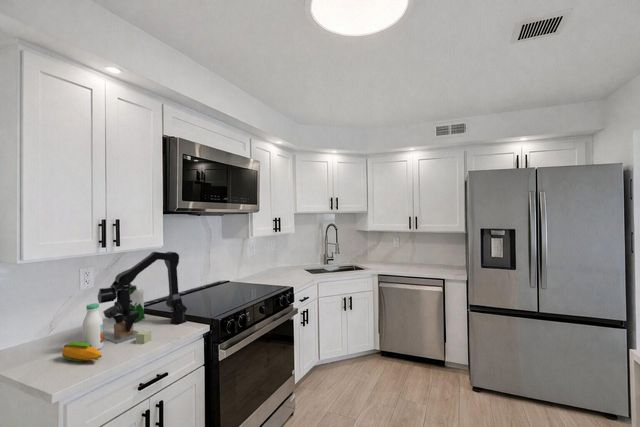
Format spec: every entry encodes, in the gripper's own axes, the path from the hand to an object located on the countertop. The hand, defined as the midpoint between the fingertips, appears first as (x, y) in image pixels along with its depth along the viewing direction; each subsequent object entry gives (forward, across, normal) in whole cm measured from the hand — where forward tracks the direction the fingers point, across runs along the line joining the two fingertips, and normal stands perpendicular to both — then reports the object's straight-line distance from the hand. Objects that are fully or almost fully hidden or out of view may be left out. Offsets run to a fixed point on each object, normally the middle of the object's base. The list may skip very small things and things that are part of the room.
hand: (123, 330), depth 159 cm
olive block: (+3, +15, +1) cm, 15 cm away
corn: (+3, +12, -22) cm, 26 cm away
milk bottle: (+3, +3, -15) cm, 16 cm away
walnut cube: (+2, 0, 0) cm, 2 cm away
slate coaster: (+3, 0, 0) cm, 3 cm away
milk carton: (+3, -20, +17) cm, 26 cm away
